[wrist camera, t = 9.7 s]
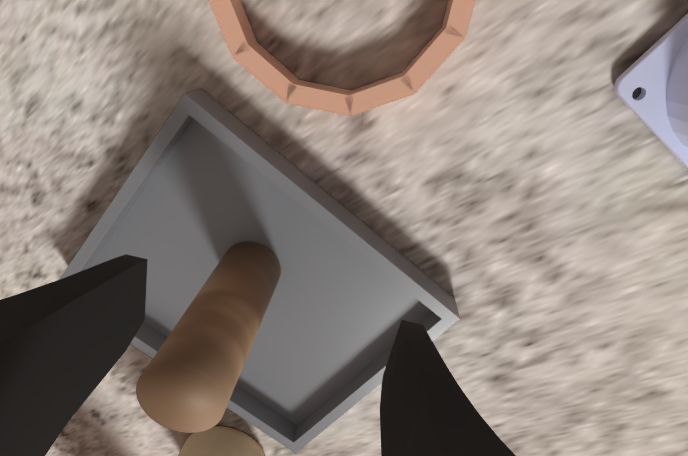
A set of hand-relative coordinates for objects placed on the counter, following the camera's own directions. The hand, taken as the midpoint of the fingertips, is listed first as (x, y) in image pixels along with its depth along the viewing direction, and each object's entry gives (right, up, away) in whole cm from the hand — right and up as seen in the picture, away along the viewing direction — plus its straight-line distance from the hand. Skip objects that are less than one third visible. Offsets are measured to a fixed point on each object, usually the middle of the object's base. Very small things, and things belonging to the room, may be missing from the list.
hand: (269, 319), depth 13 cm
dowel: (-3, +1, +11) cm, 11 cm away
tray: (-2, -1, +12) cm, 12 cm away
